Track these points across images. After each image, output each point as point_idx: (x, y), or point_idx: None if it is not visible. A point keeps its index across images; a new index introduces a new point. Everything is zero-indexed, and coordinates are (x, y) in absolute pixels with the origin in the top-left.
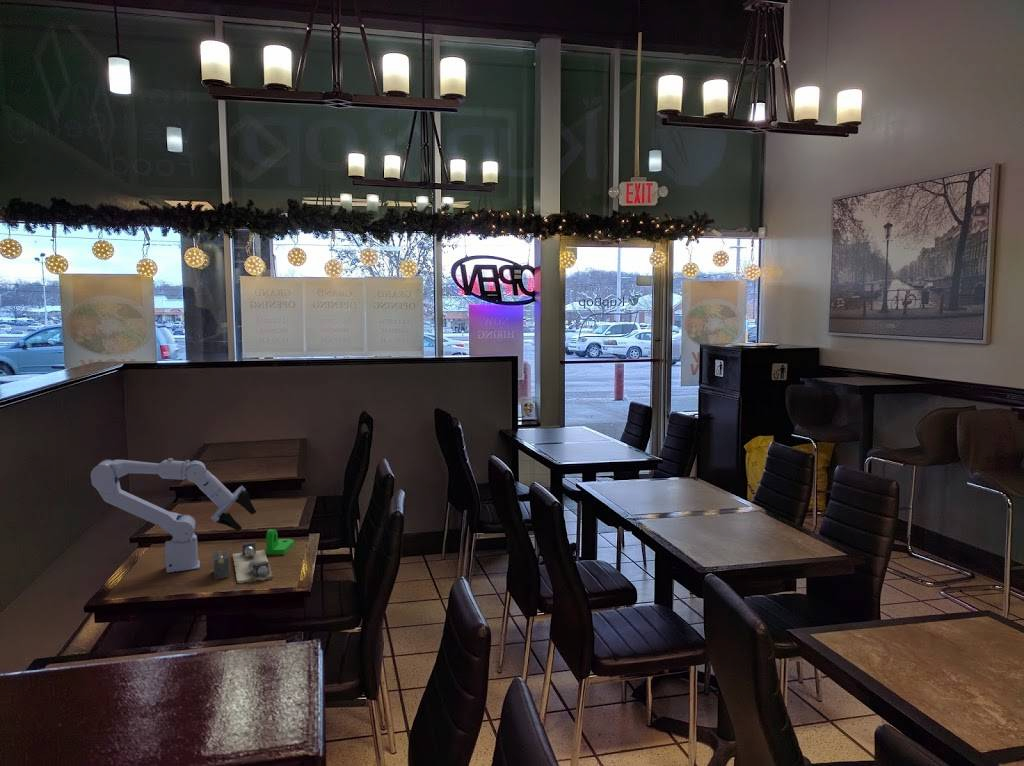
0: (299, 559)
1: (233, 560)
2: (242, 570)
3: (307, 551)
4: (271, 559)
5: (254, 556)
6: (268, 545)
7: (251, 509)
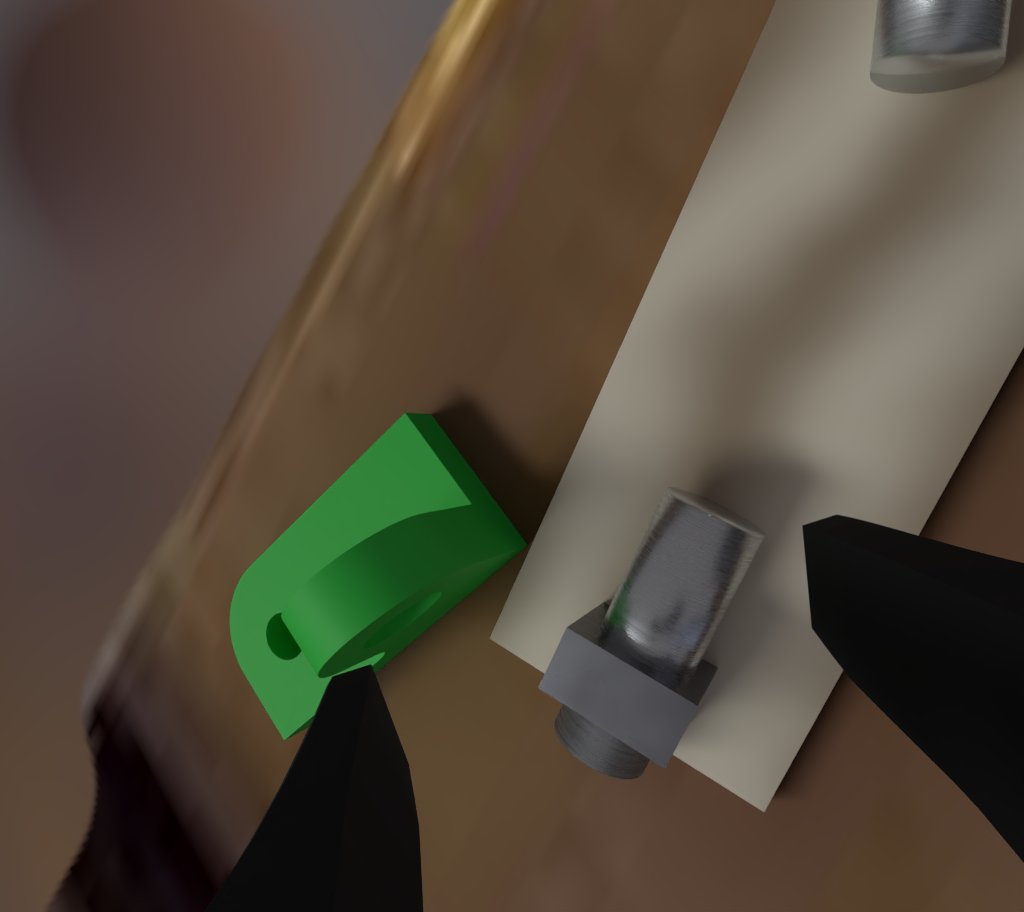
0: (416, 202)
1: None
2: (1016, 185)
3: (279, 353)
4: (565, 390)
5: None
6: (474, 538)
7: (373, 750)
